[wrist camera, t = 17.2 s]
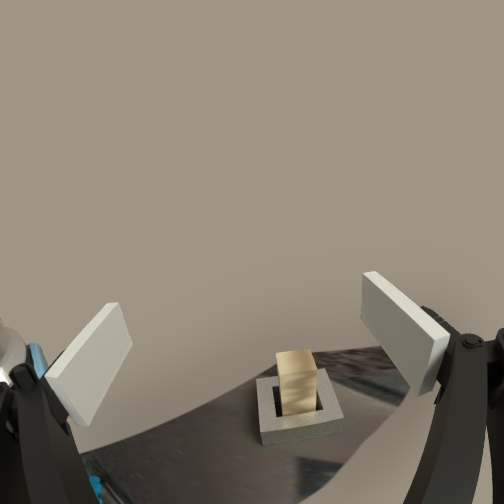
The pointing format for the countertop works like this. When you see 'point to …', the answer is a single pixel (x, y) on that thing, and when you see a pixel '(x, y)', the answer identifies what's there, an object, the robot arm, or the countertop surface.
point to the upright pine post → (297, 381)
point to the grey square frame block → (301, 424)
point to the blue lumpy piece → (96, 486)
